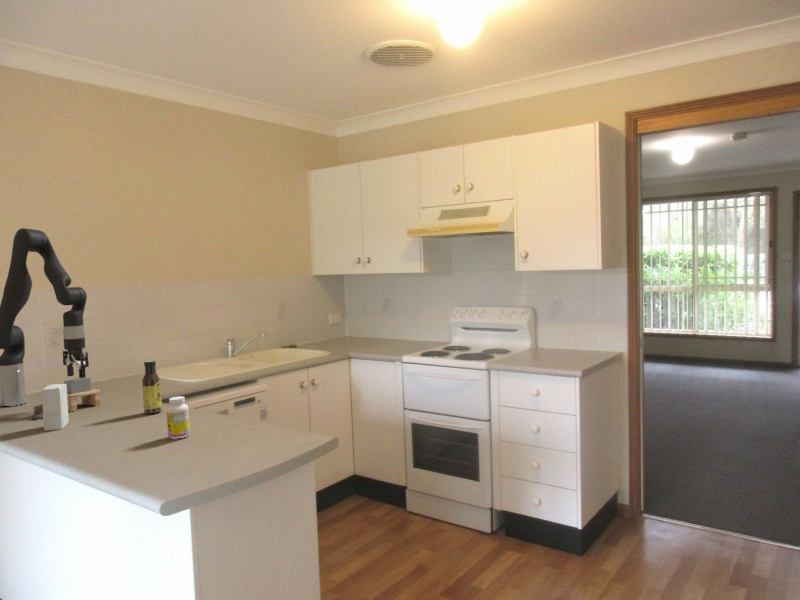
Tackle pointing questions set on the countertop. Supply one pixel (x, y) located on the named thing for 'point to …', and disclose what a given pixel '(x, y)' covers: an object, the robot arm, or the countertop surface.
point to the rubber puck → (37, 416)
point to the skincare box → (55, 406)
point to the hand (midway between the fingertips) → (76, 376)
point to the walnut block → (38, 409)
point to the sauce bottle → (151, 389)
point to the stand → (84, 399)
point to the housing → (78, 385)
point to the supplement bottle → (178, 418)
